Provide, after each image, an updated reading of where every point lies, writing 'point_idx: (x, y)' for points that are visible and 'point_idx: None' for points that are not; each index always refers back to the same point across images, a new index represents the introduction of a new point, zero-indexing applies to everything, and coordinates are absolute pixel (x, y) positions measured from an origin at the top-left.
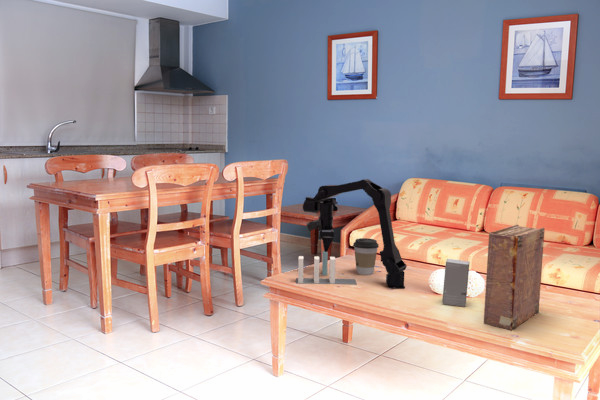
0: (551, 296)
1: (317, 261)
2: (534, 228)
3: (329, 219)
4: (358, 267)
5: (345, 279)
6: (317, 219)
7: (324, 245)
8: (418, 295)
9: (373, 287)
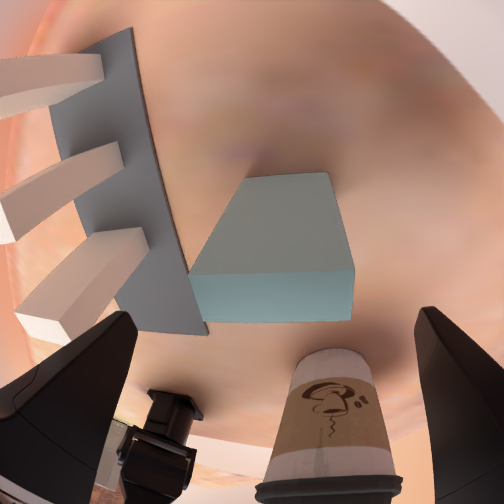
0: (214, 483)
1: None
2: None
3: None
4: (305, 380)
5: (185, 300)
6: None
7: (51, 366)
8: (128, 410)
9: (136, 362)
